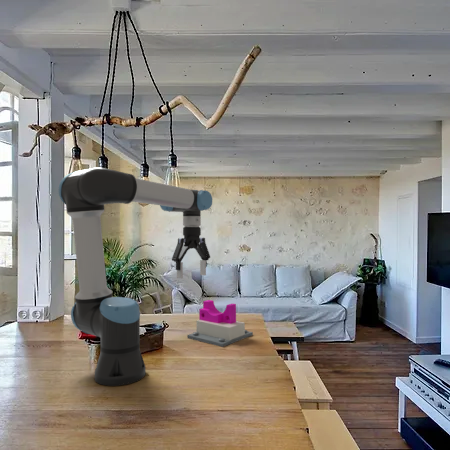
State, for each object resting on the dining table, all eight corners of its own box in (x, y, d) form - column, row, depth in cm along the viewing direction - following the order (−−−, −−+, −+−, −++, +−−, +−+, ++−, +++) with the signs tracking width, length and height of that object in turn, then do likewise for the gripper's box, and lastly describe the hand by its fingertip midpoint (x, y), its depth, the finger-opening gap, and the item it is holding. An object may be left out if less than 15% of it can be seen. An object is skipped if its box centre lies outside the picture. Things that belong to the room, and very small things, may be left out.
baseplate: (222, 346, 142) (222, 330, 143) (187, 337, 155) (187, 322, 155) (252, 335, 158) (252, 320, 158) (218, 327, 170) (218, 314, 170)
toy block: (199, 319, 160) (199, 302, 160) (208, 316, 165) (208, 299, 165) (226, 325, 151) (226, 306, 151) (236, 322, 156) (235, 304, 156)
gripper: (175, 226, 147) (175, 280, 146) (218, 226, 165) (218, 274, 165) (163, 226, 152) (163, 278, 151) (206, 226, 170) (205, 273, 170)
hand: (191, 276), depth 158 cm, fingers open, 13 cm apart
